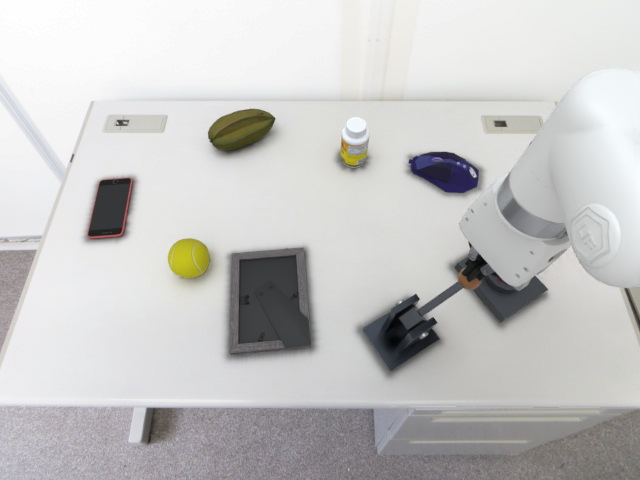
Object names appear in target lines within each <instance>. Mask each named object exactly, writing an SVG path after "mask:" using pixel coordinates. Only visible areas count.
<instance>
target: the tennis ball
mask: <svg viewBox="0 0 640 480" xmlns="http://www.w3.org/2000/svg"><path fill="white" fill-rule="evenodd" d="M210 259H211V256H210V250H209V249H208V247H207V244H205V243H204V242H202V241H201V240H199V239H196V238H192V237H191V238H190V237H189V238H182V239H179V240H177V241H176V242H174V243H173V244H172V245H171V246H170V249H169V251H168V255H167V264H168V267H169V269H170V271H171V272H172V273H173V274H175V275H176V276H178V277H180V278H185V279H193V278H197V277H200V276H201V275H203V274H204V273H205V272H206V270H207V269H208V267H209V264H210Z"/></svg>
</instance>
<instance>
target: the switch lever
mask: <svg viewBox="0 0 640 480" xmlns="http://www.w3.org/2000/svg"><path fill="white" fill-rule="evenodd" d="M464 269H465V268H464ZM464 269H462V270H461V271H460V272H458V274H457V281H456V282H455V283H453V284H452V285H451V286H449V287H447V288H446V289H445V290H443V291H442V292H440V293H439V294H438V295H436V296H435V297H433V298H432V299H431V300H429V301H428V302H427V303H425V304H423V305H422V306H420V308H418V307H417V308H415V307H413V308H411V309H410V310H409V311H407V312H406V313H404V314H403V315H402V316H400V317H399V319H400V321H401V322H402V324H403V325H404V327H405V328H406V329H407V331H411V330H412V329H414V328H415V327H416V326H418V325H419V324H421V323H422V322H424V321H425V319H426V318H425V316H426V315H428V314H429V313H430V312H432V311H433V310H435V309H436V308H438V307H439V306H440V305H442V304H443V303H445V302H446V301H447V300H449V299H450V298H452V297H453V296H454V295H456V294H457V293H459V292H460V291H462V290H463V289H465V290H468V291H472V290H473V289H476V288H477V287H479V286H480V284H481V282H482V280H481V281H479V280H478V279H477V278H476V279H474V280H472V281H471V282H468V281H467V278H466V277H467V276H466V277H465V276H463V275H462V272H463V271H464ZM473 291H474V290H473ZM417 309H418V310H417ZM423 317H424V318H425V319H424V318H423Z"/></svg>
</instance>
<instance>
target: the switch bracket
mask: <svg viewBox="0 0 640 480" xmlns="http://www.w3.org/2000/svg"><path fill="white" fill-rule="evenodd" d="M420 300H421V298H420V297H419V295H418V294H417V293H415V294H413V295H410V296H409V297H408V298H406V299H401V300H399V301H397V303H395V306H394V307H392V308H391V309H390V311H388V312H387V313H386V314H384V315H383V316H381V317H379V318H378V319H376V320H374V321H373V322H371V323H369V324H368V325H366V326H364V327H363V328H362V332H363V334H364V335H365V337H366V339H367V340H368V342H369V343H370V345H371V346H372V348H373V349H374V351H375V352H376V354H377V355H378V357H379V359H380V360H381V361H382V363H383V365H384V366H385V368H386V369H387V371H388V372H389V373H391V372H393V371H395V370H396V369H398V368H399V367H400V366H402V365H403V364H405V363H406V362H409V361H410V360H411V359H412V358H414V357H416V356H417V355H419V354H420V353H422V352H424V351H425V350H426V349H428V348H429V347H431V346H432V345H434V344H436V342H439V340H441V339H440V337H439V336H438V334H437V333H436V332H435V330H434V327H435V326H436V325H437V324H439V322H438V321H437V320H436V318H435V317H434V316H432V317H431V318H429V319H427V320H426V318H425V316H423V318H424V319H425V321H424V322H422V323H421V324H419V325H418V326H416V327H415V328H414V329H412V330H411V331H407V329H406V328H405V327H404V325H403V324H402V322H401V321H400V319H399V317H400V316H402V315H403V314H404V313H406V312H407V311H409V310H410V309H411V308H413V307H415V308H417V310H418V309H419V308H418V307H417V305H418V303H419V302H420Z"/></svg>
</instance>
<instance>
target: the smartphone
mask: <svg viewBox="0 0 640 480" xmlns="http://www.w3.org/2000/svg"><path fill="white" fill-rule="evenodd" d="M132 186H133V179H132V178H131V177H119V178H117V177H116V178H107V179H105V178H104V179H101V180H100V181H99V182H98V185H97V190H96V193H95V198H94V203H93V207H92V211H91V214H90V215H91V216H90V220H89V225H88V229H87V234H86V237H87V238H88V239H103V238H118V237H121V236H123V235H124V232H125V228H126V222H127V216H128V210H129V203H130V198H131V192H132Z"/></svg>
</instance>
